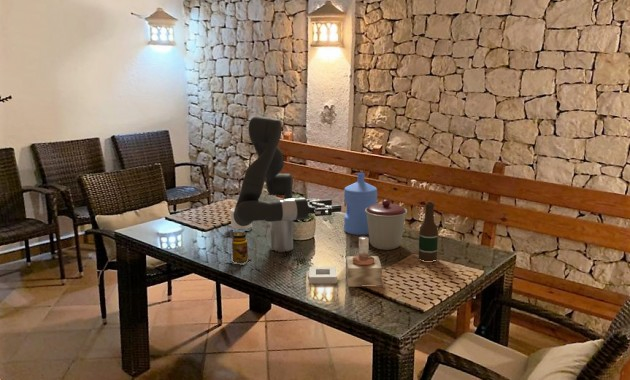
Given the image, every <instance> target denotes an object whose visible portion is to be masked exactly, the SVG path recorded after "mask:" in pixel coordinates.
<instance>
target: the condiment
mask: <svg viewBox="0 0 630 380" xmlns="http://www.w3.org/2000/svg"><path fill="white" fill-rule="evenodd" d="M231 241H232V243H231V247H232V258H233V261H234V262H237V263H244V262H246V261H248V259H249V255H248V253H249V252H248V239H247V234H246V232H243V233H242V232H234V233H233V234H232V240H231Z"/></svg>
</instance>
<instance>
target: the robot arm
mask: <svg viewBox="0 0 630 380" xmlns="http://www.w3.org/2000/svg"><path fill="white" fill-rule="evenodd" d="M282 129H283V126H282V122H281V120H280V119H278V118H274V117H267V116H259V115H258V116H253V117H252V118H251V119H249V123H248V136H249V139H250V141H251V144H252V145H253V147H254V149H255V151H256V154H257V158H256V159H255V160H254V161H253V162H252V163H251V164H250V165H249V166H248V168H247V169H246V171H245V174H244V176H243V180H242V184H241V188H240V193H239V196H238V199H237V202H236V205H235V210H234V220H235V222H236V223H237V224H238V225H240V226H247V225H249V224H251V223H252V224H253V222H257V221H265V222H267V223H268V222H269V223H270V244H271V245H270V247H271V248H270V250H275V251H274V252H277V251H278V252H277V253H279V252H280V253H285V251H286V253H287V252H290V251H292V250H294V231H293V230H294V228H293V227H294V226H293V224H294V223H293V222H294V221H298V220H305V219H306V220H307V218H308V217H309V214H311V215H314V216H315V217H324V216H332V215H333V213H341V212H342V205H341V204H338V205H337V204H336V205H333V200H332V199H330V198H329V199H320V198H316V197H314V198H306V197H293V176H292V175H291V173H281V171H282V170H283V168H284V165H285V160H284V156H283V153H282V149H280V147H278V145H279V143H280V140H281V137H282V131H283V130H282ZM264 185H265V186H266V190H267V193H268V194H269V195H271V196H284V197H283V198H282V199H280V200H279V199H277V200H276V199H275V200H269V201H265V200H260V198H261V196H262V192H263V189H264Z"/></svg>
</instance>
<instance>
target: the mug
mask: <svg viewBox="0 0 630 380" xmlns="http://www.w3.org/2000/svg"><path fill="white" fill-rule="evenodd" d="M235 207H236V206H235ZM235 207H232V208H230V223H231V224H230V226H232V227H233V228H235V229H247V228H250V227H252V228H253V222H252V223H251V224H249V225H247V226H240V225H238V224H237V223H236V222H235V220H234V210H235Z"/></svg>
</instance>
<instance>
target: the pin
mask: <svg viewBox="0 0 630 380" xmlns="http://www.w3.org/2000/svg"><path fill="white" fill-rule="evenodd" d="M369 244H370V240H369V236H368V237H367V236H360V237H358V255H354V256H355V257H353V264H355V265H358V266H370V265H373V264H374V258H373V257H371V256H372V255H369V248H370V247H369Z"/></svg>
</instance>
